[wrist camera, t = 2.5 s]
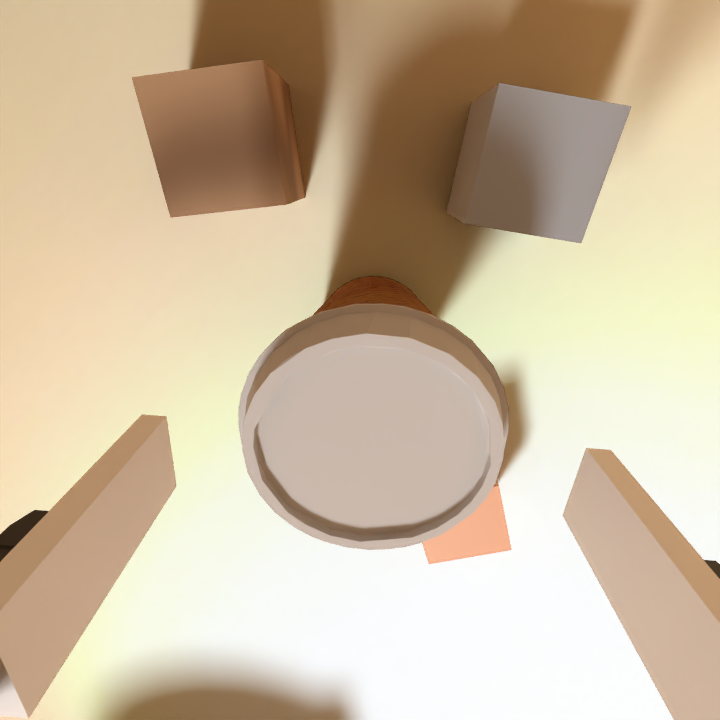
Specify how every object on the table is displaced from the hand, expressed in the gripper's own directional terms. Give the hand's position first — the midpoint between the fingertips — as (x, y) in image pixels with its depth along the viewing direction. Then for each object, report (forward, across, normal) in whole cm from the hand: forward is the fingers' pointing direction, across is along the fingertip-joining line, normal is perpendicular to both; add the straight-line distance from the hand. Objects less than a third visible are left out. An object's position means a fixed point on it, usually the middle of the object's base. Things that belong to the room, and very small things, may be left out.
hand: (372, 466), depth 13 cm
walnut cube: (+12, -7, +9) cm, 17 cm away
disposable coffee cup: (+13, 0, 0) cm, 13 cm away
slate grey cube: (+12, +6, +9) cm, 17 cm away
